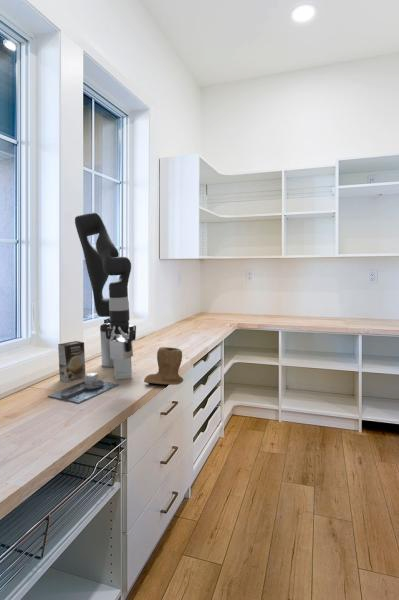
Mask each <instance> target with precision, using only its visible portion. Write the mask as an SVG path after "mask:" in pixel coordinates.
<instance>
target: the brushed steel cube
mask: <svg viewBox="0 0 399 600" xmlns="http://www.w3.org/2000/svg"><path fill="white" fill-rule="evenodd" d="M109 343H110V359H118V360H125V359H127V358H130V357H131V358H132V357H134V351H133V341H132V342H131V351H129V352H126V344H125V343H126V342H125V339H124V338H123V337H120V338H117V339H114V340H111V341H109Z"/></svg>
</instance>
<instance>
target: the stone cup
mask: <svg viewBox="0 0 399 600" xmlns="http://www.w3.org/2000/svg"><path fill="white" fill-rule="evenodd" d="M182 358H183V350H182V349H180V348H177V347H167V346H165V347H164V346H163V347H162V346H161V347H159V348H158V350H157V352H156V362H157V366H158V372H156V373H152V374H151V373H150V374H148V375H146V377H144V380H143V382H144V383H146V384H155V385H174V386H175V385H176V386H177V385H180V384H181V383H183V382H184V377H183V376H180V375H179V372H180V371H179V370H180V367H181V365H182V364H181V363H182V361H183V360H182Z"/></svg>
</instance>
